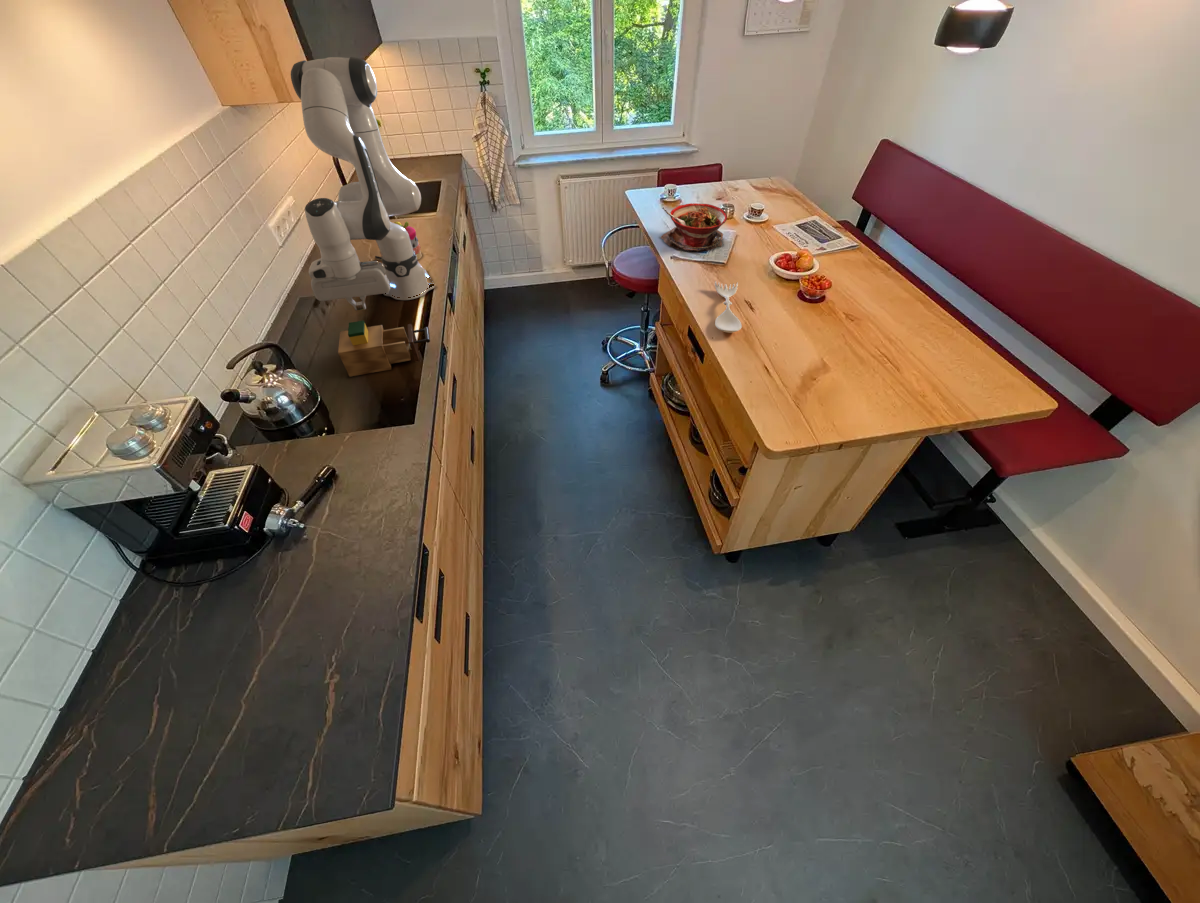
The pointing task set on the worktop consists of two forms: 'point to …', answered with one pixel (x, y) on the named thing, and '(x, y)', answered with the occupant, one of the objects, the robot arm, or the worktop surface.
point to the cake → (412, 238)
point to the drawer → (402, 343)
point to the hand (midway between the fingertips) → (360, 308)
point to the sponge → (358, 332)
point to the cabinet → (364, 353)
